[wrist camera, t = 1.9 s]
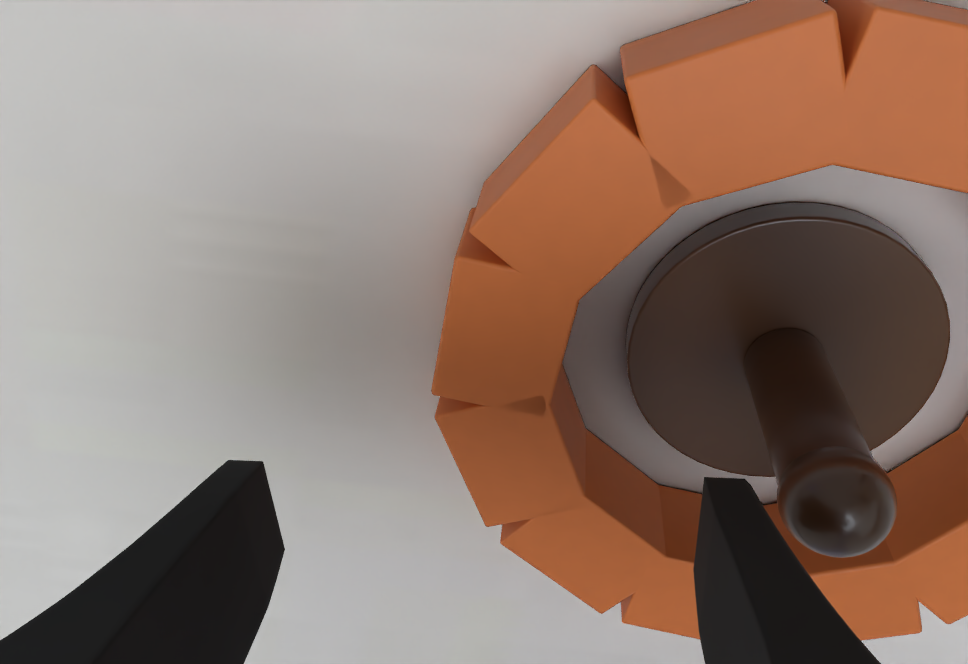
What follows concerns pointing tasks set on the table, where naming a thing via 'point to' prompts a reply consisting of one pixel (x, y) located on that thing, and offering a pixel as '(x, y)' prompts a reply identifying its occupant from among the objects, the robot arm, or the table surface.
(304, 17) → the table surface
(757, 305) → the peg stand
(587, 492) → the ring
